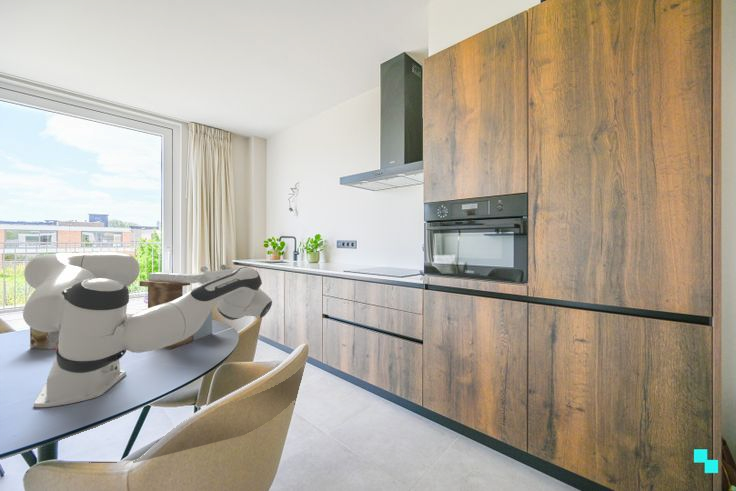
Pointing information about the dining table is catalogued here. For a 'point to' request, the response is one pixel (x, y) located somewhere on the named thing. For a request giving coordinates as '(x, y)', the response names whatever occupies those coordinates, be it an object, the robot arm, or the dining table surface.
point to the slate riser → (204, 328)
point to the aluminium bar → (174, 277)
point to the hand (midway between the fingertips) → (212, 267)
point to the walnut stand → (164, 298)
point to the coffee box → (43, 339)
